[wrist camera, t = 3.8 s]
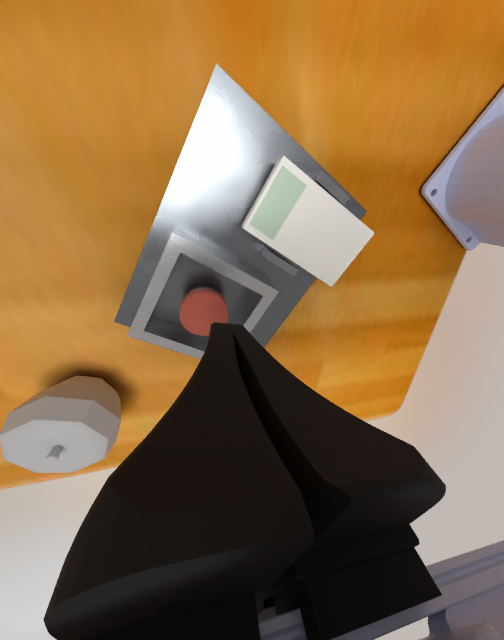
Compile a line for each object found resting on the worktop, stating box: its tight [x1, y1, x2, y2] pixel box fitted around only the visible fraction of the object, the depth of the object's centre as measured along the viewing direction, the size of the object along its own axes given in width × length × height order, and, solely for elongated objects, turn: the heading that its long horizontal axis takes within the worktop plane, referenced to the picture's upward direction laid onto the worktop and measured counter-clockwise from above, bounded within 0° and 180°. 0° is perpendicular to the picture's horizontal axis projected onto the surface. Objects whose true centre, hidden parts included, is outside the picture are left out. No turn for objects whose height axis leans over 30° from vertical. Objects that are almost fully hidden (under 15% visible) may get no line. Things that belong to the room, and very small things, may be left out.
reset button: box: [179, 287, 228, 336], centre depth 15 cm, size 3×3×1 cm
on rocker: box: [242, 156, 375, 287], centre depth 13 cm, size 7×4×2 cm, turn 57°
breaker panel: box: [114, 64, 367, 359], centre depth 16 cm, size 12×16×4 cm
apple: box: [0, 376, 121, 473], centre depth 18 cm, size 8×8×7 cm
